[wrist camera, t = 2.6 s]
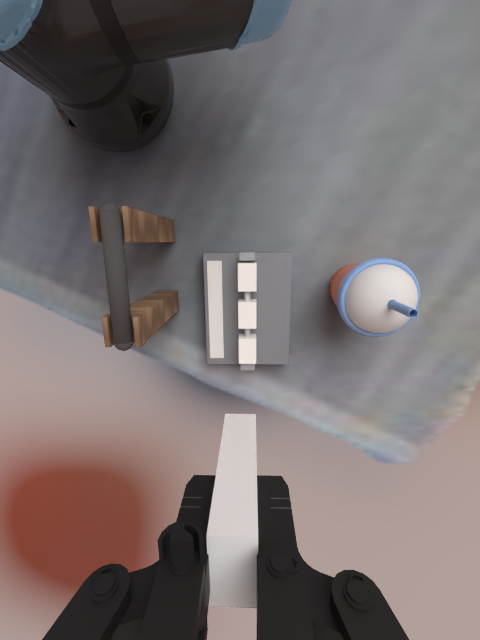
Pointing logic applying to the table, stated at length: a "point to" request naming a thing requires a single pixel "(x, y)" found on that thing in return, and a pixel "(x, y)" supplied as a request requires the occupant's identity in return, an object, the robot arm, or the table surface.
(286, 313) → the breaker panel
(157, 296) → the posts
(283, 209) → the table surface
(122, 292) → the dark grey rod
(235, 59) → the table surface
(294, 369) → the table surface
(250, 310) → the breaker paddles
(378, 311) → the cup with straw
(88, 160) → the table surface
